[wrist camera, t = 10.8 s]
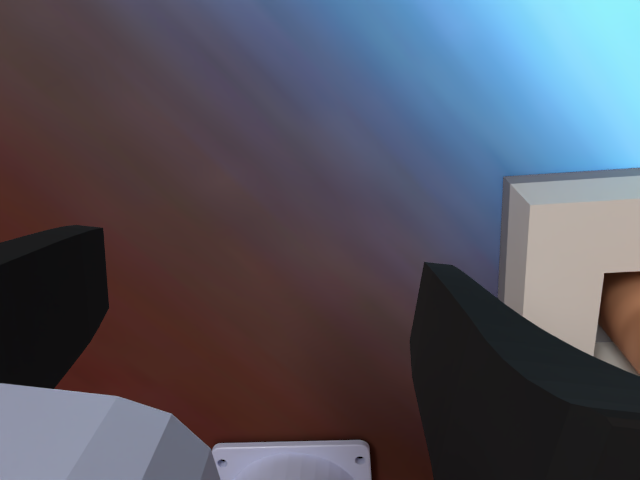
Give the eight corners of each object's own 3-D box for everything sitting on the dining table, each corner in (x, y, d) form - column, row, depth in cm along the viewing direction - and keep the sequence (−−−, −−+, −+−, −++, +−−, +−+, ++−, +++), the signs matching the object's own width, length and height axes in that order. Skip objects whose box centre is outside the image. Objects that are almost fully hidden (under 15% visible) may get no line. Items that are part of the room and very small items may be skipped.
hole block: (719, 375, 24) (776, 430, 21) (493, 382, 25) (514, 436, 22) (772, 159, 20) (850, 186, 17) (503, 176, 21) (530, 205, 18)
